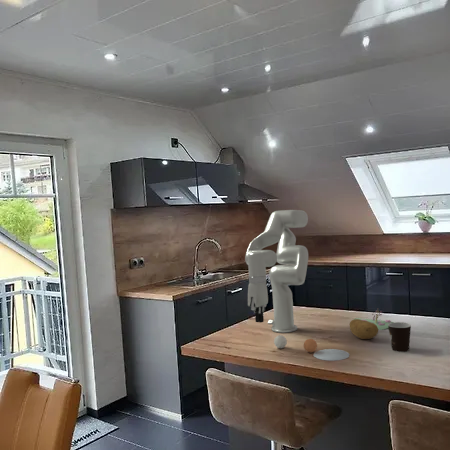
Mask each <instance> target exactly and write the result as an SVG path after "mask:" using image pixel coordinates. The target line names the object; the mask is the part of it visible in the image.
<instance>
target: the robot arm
mask: <svg viewBox="0 0 450 450" xmlns="http://www.w3.org/2000/svg"><path fill="white" fill-rule="evenodd" d="M308 221H309V215H308V213H307V212H306V211H304V210H303V209H302V210H299V209H286V210H285V209H282V210H275V211H273V212H272V213H270V216H269V218H268V221H267V222H266V223H267V224H266V225H265V228H264V231H263V232H261V233H260V234H259V235H258V236H257V237H255V238H253V239H252V241H251V242H250V243H249V245H248V247H247V249H246V252H245V258H244V260H245V263H246V265H247V267H248V285H247V287H248V288H247V306H248V307H250V310H251V311H253V313H254V314H255V316H254V317H255V323H264V321H265V319H264V312H265V308H266V307H267V304H268V303H269V295H268V285H267V269H266V268H267V267H269V268H270V267H271V268H270V269H269V272H268V273H269V274H268V275H269V280H270V284H271V292H272V293H271V294H272V305H273V319H268V320H267V321H268V322H267V325H271V331H272V332H274V333H291V332H295V331H297V330H298V326H297V325H296V324H295V320H294V318H295V317H294V302H293V292H292V290H291V288H290V286H300V285H304V284H305V280H306V276H307V269H308V263H309V250H308V248H307V247H306V246H305V245H301V244H300V245H299V244H298V245H296V241H297V237H296V235H295V234H294V233H293V231H292V230H290V229H293V228H294V229H295V228H304V227H306V226H307V225H308ZM277 243H278V244H277ZM275 244H277V249H276V252H275V251H274V250H271V249H264V248H267V247H270V246H272V245H275ZM276 263H278V264H277V265H276Z"/></svg>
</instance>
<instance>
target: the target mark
mask: <svg viewBox="0 0 450 450" xmlns="http://www.w3.org/2000/svg"><path fill="white" fill-rule="evenodd" d="M313 357H314V358H316V359H318V360H321V361H328V362H329V361H330V362H333V361H334V362H335V361H342V360H346V359H348V358H349V357H350V353H349V352H348V351H347V350H343V349H335V348H327V349H321V350H320V349H319V350H317V351H314V352H313Z"/></svg>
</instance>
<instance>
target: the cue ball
mask: <svg viewBox="0 0 450 450" xmlns="http://www.w3.org/2000/svg"><path fill="white" fill-rule="evenodd" d="M287 341H288V340H287V338H286V337H285V336H284V335H280V334H279V335H277V336H275V337H274V339H273V344H274V345H275V347H276V348H278V349H283V348H285V347H286V345H287V343H288V342H287Z"/></svg>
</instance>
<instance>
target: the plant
mask: <svg viewBox="0 0 450 450" xmlns="http://www.w3.org/2000/svg"><path fill="white" fill-rule="evenodd" d="M371 315H372V316H373V317H372V319H371V318H370V319H369V318H359V317H358V318H357V317H356V318H354V319H360V320H365V321H368V322H371V323H374V324H375V325H376V326H377V327H378V331H383V330H386V329H389V328H388V324H389V323H394V321H392V320H391V319H385V320H381V319H379V317H381V316H382V315H383V311H378V309H377V310H375V313H374V312H372V313H371ZM354 319H352V320H354Z"/></svg>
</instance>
